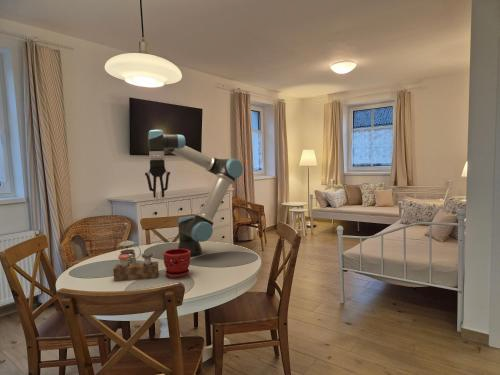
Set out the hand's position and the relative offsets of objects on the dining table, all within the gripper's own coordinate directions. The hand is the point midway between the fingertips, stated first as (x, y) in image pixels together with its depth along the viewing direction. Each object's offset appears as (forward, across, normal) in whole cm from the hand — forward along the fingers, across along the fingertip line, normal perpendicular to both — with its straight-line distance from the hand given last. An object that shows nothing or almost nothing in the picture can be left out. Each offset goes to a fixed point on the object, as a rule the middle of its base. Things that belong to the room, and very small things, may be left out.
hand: (159, 203), depth 171 cm
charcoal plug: (+30, -6, -13) cm, 34 cm away
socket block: (+34, -11, -14) cm, 39 cm away
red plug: (+30, -17, -13) cm, 37 cm away
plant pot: (+35, +9, -15) cm, 39 cm away
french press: (+35, -17, +1) cm, 39 cm away
